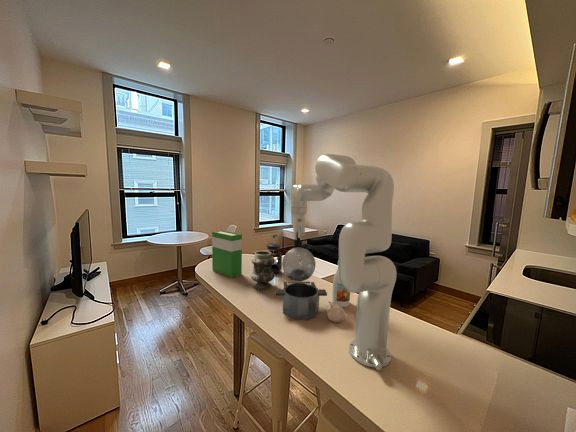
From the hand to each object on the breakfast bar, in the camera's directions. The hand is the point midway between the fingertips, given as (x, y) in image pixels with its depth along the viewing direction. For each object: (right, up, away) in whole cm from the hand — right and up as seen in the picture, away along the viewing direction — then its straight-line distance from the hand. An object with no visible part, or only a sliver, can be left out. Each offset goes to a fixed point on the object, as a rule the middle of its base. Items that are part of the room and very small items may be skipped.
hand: (297, 247), depth 118 cm
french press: (-13, -19, +29) cm, 37 cm away
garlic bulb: (+14, -26, -23) cm, 38 cm away
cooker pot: (+1, -24, -16) cm, 29 cm away
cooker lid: (0, -7, -8) cm, 11 cm away
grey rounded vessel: (-18, -21, +7) cm, 29 cm away
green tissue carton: (-41, -18, +26) cm, 52 cm away
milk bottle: (+19, -24, -9) cm, 32 cm away
